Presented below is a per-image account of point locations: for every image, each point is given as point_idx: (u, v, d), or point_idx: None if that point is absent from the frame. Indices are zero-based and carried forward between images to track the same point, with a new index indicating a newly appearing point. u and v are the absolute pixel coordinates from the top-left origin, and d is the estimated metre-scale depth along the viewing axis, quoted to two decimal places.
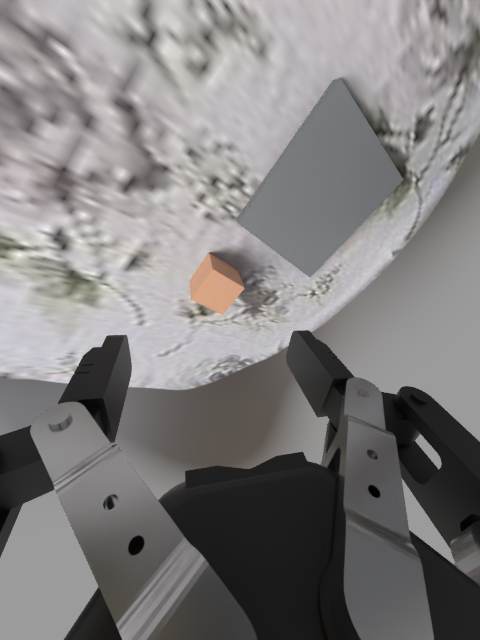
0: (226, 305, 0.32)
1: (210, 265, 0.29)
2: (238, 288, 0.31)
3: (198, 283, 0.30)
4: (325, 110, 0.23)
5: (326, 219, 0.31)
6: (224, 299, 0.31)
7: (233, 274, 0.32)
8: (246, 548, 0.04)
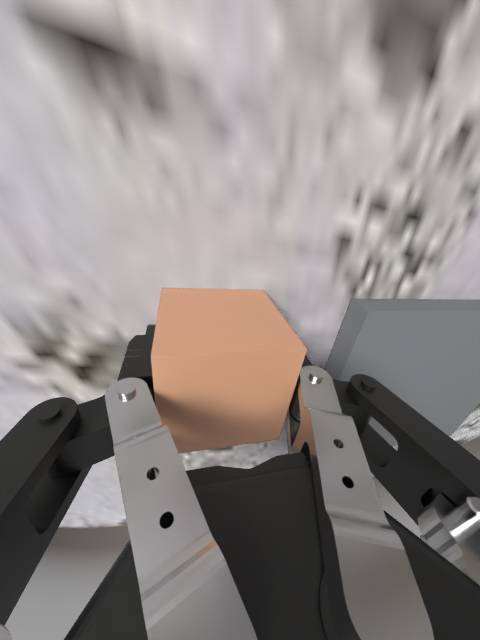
0: (199, 443, 0.09)
1: (285, 327, 0.09)
2: (270, 430, 0.10)
3: (209, 329, 0.08)
4: None
5: None
6: (218, 427, 0.09)
7: None
8: (247, 548, 0.04)
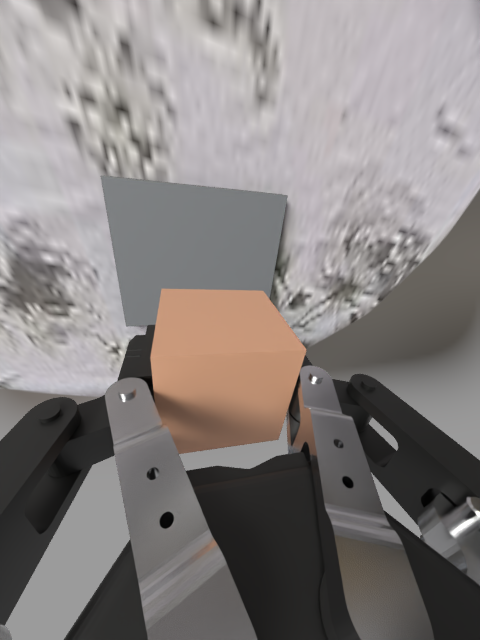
0: (199, 444, 0.09)
1: (284, 328, 0.09)
2: (270, 431, 0.10)
3: (209, 330, 0.08)
4: (262, 200, 0.22)
5: (191, 286, 0.25)
6: (217, 428, 0.09)
7: None
8: (246, 548, 0.04)
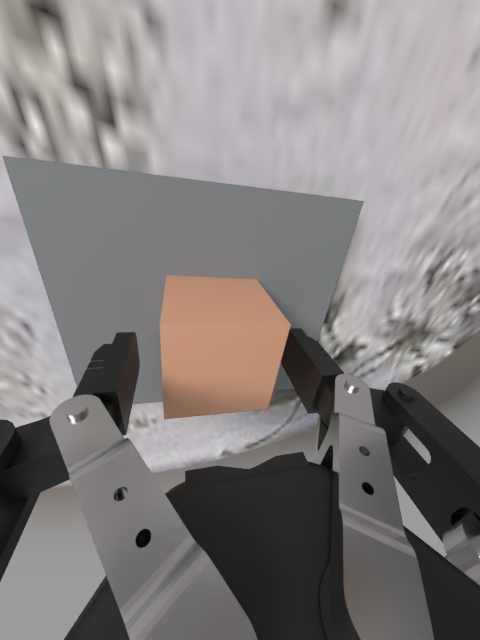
0: (198, 409, 0.11)
1: (273, 308, 0.11)
2: (260, 400, 0.11)
3: (208, 307, 0.10)
4: (321, 209, 0.12)
5: None
6: (215, 394, 0.11)
7: None
8: (247, 548, 0.04)
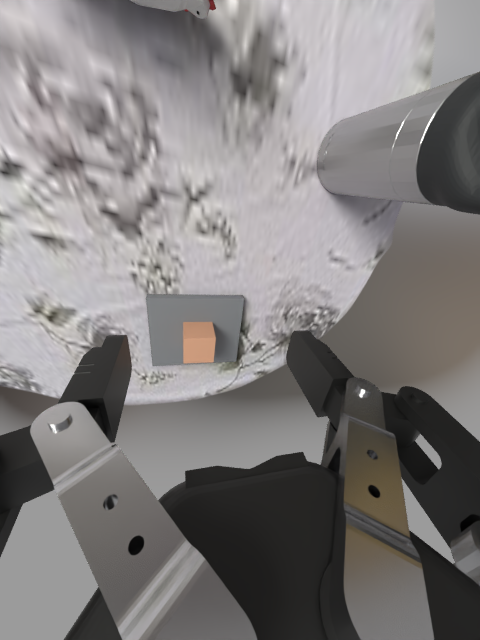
0: (192, 361, 0.39)
1: (213, 333, 0.39)
2: (210, 359, 0.40)
3: (195, 333, 0.38)
4: (230, 302, 0.41)
5: None
6: (197, 356, 0.39)
7: None
8: (247, 548, 0.04)
